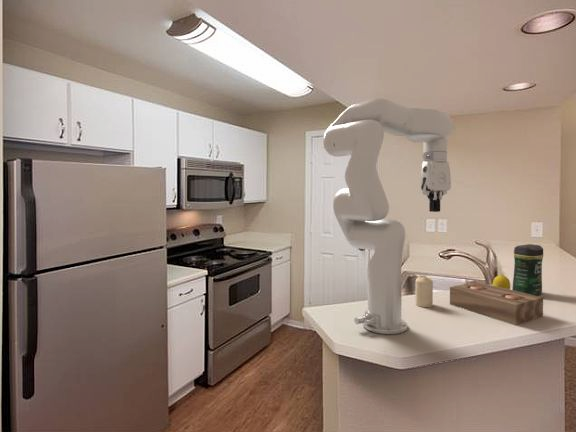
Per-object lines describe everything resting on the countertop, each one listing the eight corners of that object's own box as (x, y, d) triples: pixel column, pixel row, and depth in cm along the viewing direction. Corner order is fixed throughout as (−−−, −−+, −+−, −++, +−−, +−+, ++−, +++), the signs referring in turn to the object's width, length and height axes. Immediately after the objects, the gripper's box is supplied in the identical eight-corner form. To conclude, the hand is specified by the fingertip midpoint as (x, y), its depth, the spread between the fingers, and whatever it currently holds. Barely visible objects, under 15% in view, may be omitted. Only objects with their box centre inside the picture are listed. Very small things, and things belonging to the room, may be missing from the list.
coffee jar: (530, 298, 125) (532, 247, 124) (508, 292, 132) (509, 244, 131) (546, 294, 129) (547, 244, 128) (524, 289, 136) (525, 242, 135)
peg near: (515, 317, 106) (515, 299, 105) (502, 314, 109) (502, 296, 109) (522, 315, 107) (523, 297, 107) (509, 311, 111) (510, 294, 111)
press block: (515, 325, 101) (515, 304, 100) (449, 304, 120) (449, 287, 120) (542, 316, 107) (543, 297, 107) (476, 298, 127) (476, 281, 126)
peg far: (478, 306, 116) (478, 290, 116) (467, 303, 120) (467, 287, 120) (485, 304, 118) (486, 288, 118) (474, 301, 122) (475, 285, 121)
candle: (434, 307, 117) (434, 278, 116) (416, 307, 118) (416, 278, 118) (430, 302, 122) (431, 274, 122) (414, 302, 124) (414, 274, 123)
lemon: (498, 298, 126) (499, 276, 125) (489, 294, 131) (489, 273, 131) (513, 298, 126) (514, 276, 125) (503, 293, 131) (504, 272, 131)
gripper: (428, 156, 113) (428, 213, 114) (459, 157, 119) (458, 211, 120) (410, 158, 119) (410, 212, 120) (441, 159, 126) (440, 210, 127)
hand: (434, 211), depth 120 cm, fingers closed
